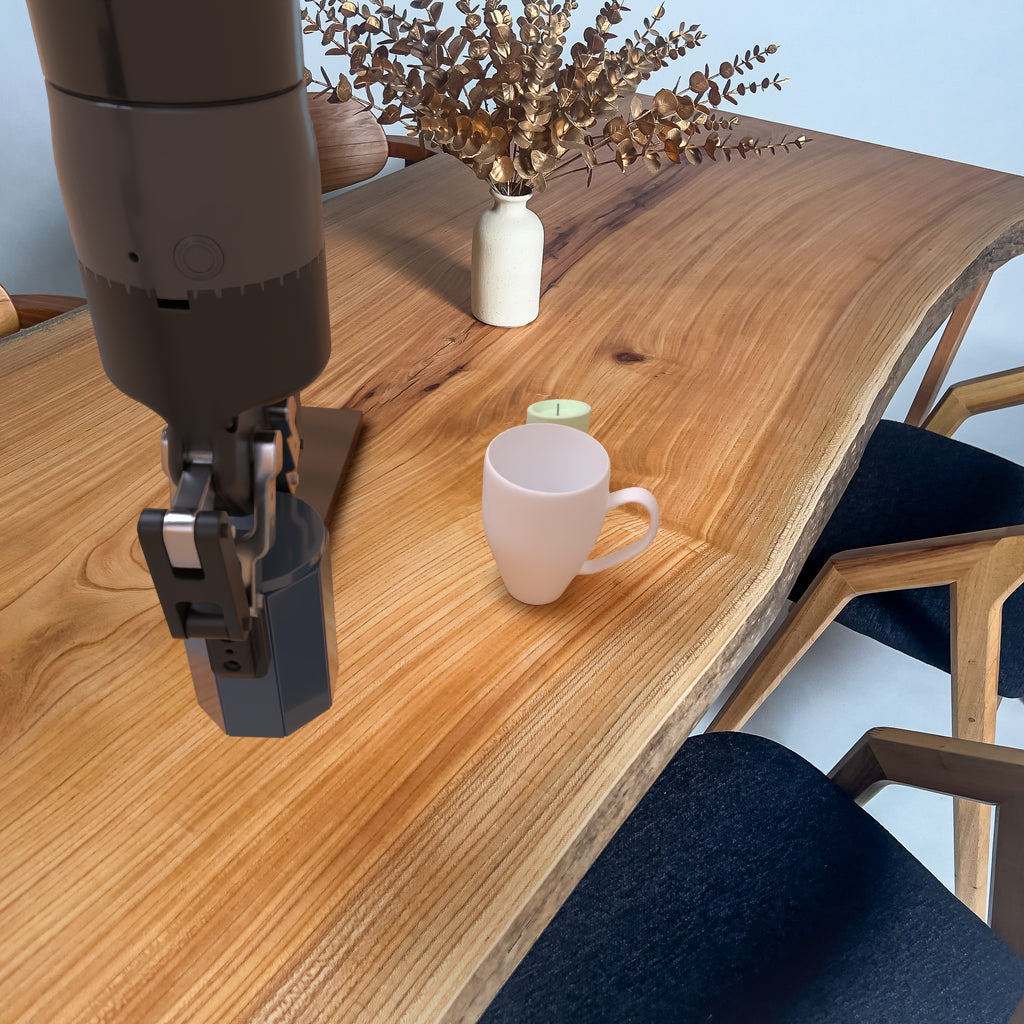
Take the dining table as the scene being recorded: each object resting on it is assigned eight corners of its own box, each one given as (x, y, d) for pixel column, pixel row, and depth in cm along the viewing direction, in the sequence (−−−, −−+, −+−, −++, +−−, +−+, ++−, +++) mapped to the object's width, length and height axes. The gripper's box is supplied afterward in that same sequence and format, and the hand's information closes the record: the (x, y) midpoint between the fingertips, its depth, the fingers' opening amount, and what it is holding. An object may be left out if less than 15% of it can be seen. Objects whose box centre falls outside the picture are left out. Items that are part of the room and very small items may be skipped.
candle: (512, 472, 77) (518, 388, 71) (567, 463, 78) (576, 380, 73) (533, 507, 73) (542, 421, 68) (590, 497, 74) (602, 412, 69)
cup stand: (306, 595, 64) (290, 455, 56) (192, 586, 64) (161, 444, 56) (363, 424, 81) (356, 300, 73) (274, 417, 81) (258, 292, 73)
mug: (464, 611, 63) (469, 480, 56) (494, 538, 70) (502, 412, 62) (634, 648, 61) (661, 518, 54) (648, 569, 68) (675, 443, 61)
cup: (250, 761, 38) (222, 608, 33) (176, 681, 41) (139, 529, 36) (362, 687, 42) (355, 538, 36) (286, 619, 45) (268, 472, 39)
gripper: (149, 153, 34) (211, 507, 44) (-24, 329, 23) (114, 749, 33) (351, 165, 34) (366, 513, 45) (280, 344, 23) (322, 755, 33)
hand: (259, 612), depth 39 cm, fingers closed on cup, 6 cm apart
